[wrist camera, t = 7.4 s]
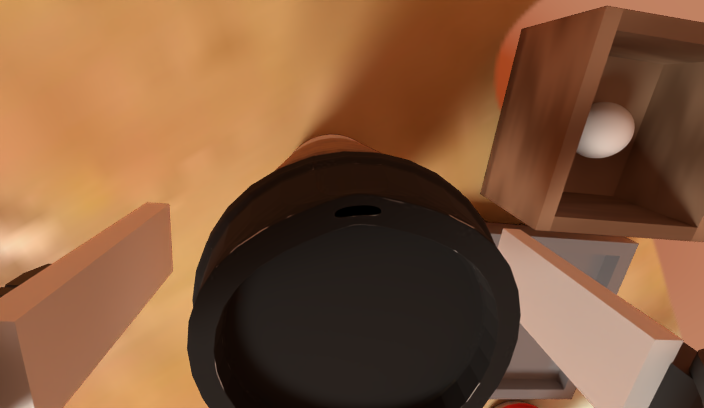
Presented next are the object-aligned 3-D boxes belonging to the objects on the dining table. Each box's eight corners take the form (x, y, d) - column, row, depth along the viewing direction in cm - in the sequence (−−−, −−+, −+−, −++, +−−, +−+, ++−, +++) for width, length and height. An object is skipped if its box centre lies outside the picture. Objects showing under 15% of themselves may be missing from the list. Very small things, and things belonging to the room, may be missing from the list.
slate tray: (431, 218, 23) (442, 230, 21) (614, 231, 25) (638, 243, 23) (398, 377, 27) (405, 399, 25) (555, 378, 29) (571, 398, 27)
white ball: (563, 97, 20) (606, 100, 17) (610, 104, 21) (660, 107, 18) (547, 150, 21) (585, 160, 18) (592, 154, 22) (636, 166, 19)
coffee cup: (397, 108, 20) (589, 162, 6) (397, 236, 23) (525, 476, 9) (255, 115, 19) (94, 195, 5) (272, 246, 22) (198, 523, 8)
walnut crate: (521, 29, 19) (606, 5, 14) (671, 52, 21) (805, 40, 15) (480, 193, 22) (535, 230, 17) (612, 205, 24) (703, 242, 18)
